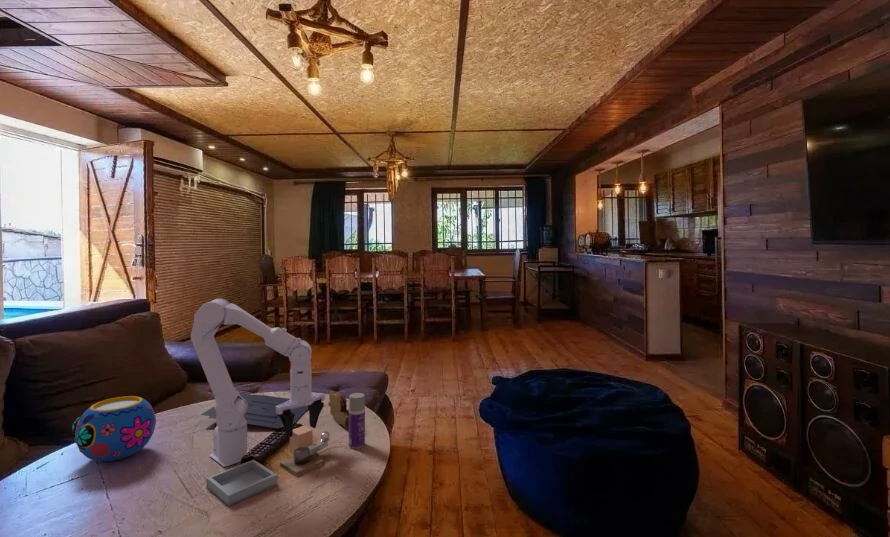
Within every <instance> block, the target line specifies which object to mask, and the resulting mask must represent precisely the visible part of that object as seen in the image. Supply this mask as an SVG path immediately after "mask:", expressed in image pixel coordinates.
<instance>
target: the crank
mask: <svg viewBox="0 0 890 537" xmlns="http://www.w3.org/2000/svg"><path fill="white" fill-rule="evenodd" d="M329 441H330V431H328V430H327V431H322V432H320V440H319V441H316V442H315V443H312V445H311V446H309V447H300V448H297V449H295V450H294V453H293V456H294V463H296V464H304V463H307V462H308V461H309V460H310V455H314V454H316V453H318V452H319V451H321V450H324V449H325V448H327V447H328V443H329Z"/></svg>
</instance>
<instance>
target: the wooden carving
mask: <svg viewBox="0 0 890 537" xmlns="http://www.w3.org/2000/svg"><path fill="white" fill-rule="evenodd" d="M328 397H329V398H328V399H329V401H328V406H329V407H330V410H329V411H330V414H331V416H332V418H333V420H334V421H335V422H336V425H339V426H341V425H342V427H343V428H344V429H346V428H349V409H348V408H347V406H348V405H347V402H348V401H347V398H346V396H344V395H343V394H341V393H340V392H333V393H332V392H331V393H329V394H328Z"/></svg>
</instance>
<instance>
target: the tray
mask: <svg viewBox="0 0 890 537" xmlns="http://www.w3.org/2000/svg"><path fill="white" fill-rule="evenodd" d="M277 485H278V474H276V473H275V472H274V471H272V470H270V469H269V468H267V467H266V466H264V465H263V464H261V463H260V462H258V461H256V460H255V459H251V460H250V461H246V462H244V463H241V464H239V465H236V466H234V467H231V468H229V469H226V470H223V471H221V472H218V473H215V474H212V475H210V476H207V477H206V489H208V490H209V491H210V492H211V493H212V494H213V495H214V496H216V497H217V498H218V499H219V500H220V501H221V502H222V503H223V504H225V505H226V506H227V507H230V506H233V505H235V504H237V503H240V502H242V501H244V500H246V499H249V498H251V497H253V496H255V495H258V494H260V493H263V492H264V491H266V490H268V489H271V488H273V487H275V486H277Z"/></svg>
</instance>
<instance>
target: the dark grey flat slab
mask: <svg viewBox="0 0 890 537" xmlns="http://www.w3.org/2000/svg"><path fill="white" fill-rule="evenodd" d="M239 394H240V393H239ZM240 396H241V397H242V398H243V399H245V400H246V402H247V404H248V410H247V412H246V414H245V415H244V417H245V419H246V421H247V425H255V426H261V427H266V428H267V427H268V428H272V429H278V430H279V428H280V427H281V426H282V425H283V423H282V421H281V419H280V417H279V416H278V414H277V413H276V406H277V405H280V404H282V403H284V402H286V401H288V400H290V399H291V398H285V397H279V396H270V395H264V394H256V393H255V394H253V393H252V394H251V393H250V394H249V393H243V394H240ZM290 411H291V413H292V414H294V415H295V416H294V420H293V423H295V424H296V422H298V420H299V419H300V418H301V417H302V416H303V414H305V413H306V412H308V411H309V408H308V406H302V407H299V408H295V409H292V410H290ZM200 416H207V417H208V419H209V418H210V419H213V420H214V419H215V420H216V416H217V414H216V410H215V405H214V406H212V407H211V408H208V409H207V410H206V411H204V412H203V413H201V414H200Z"/></svg>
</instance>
